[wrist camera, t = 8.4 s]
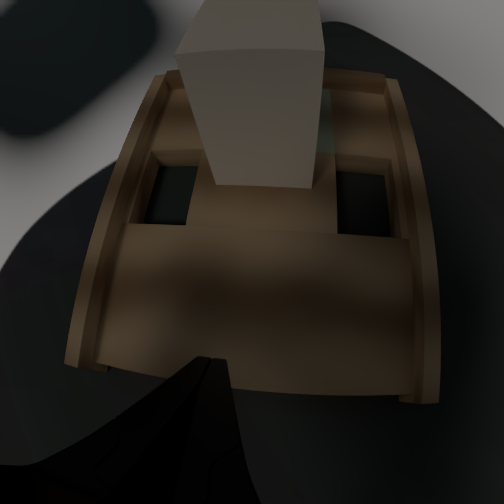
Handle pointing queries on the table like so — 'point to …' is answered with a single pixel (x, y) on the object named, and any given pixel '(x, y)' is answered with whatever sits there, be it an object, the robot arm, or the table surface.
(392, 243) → the wooden tray
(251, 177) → the cream block
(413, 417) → the table surface
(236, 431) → the robot arm
